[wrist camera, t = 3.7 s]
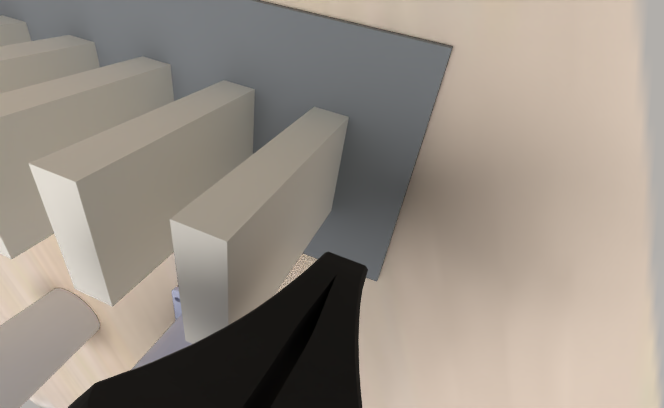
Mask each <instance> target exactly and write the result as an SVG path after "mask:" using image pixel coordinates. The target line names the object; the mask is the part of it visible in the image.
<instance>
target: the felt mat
mask: <svg viewBox="0 0 664 408" xmlns="http://www.w3.org/2000/svg"><path fill="white" fill-rule="evenodd" d="M2 15H3V16H7V17H10V18H13V19H17V20H20V21H24V22H26V25H27V28H28V31H29V35H30V38H31V41H36V40H42V39H48V38H54V37H60V36H65V35H71V36H75V37H78V38H82V39H85V40H89V41H92V42H95V47H96V52H97V57H98V61H99V66H100V67H104V66H108V65H111V64H115V63H119V62H123V61H127V60H131V59H134V58H138V57H142V56H143V57H147V58H150V59H153V60H157V61H160V62H164V63H167V64H170V65H171V75H172V85H173V95H174V101H176V100H178V99H181V98H183V97H185V96H188V95H190V94H192V93H195V92H197V91H199V90H202V89H204V88H206V87H209V86H211V85H214V84H216V83H218V82H221V81H223V80H225V81H228V82H232V83H235V84H239V85H242V86H245V87H249V88H252V89H255V98H254V131H253V154H254V153H255V152H257V151H258V150H259V149H260V148H262V147H263V146H264V145H266V144H267V143H268V142H269V141H271V140H272V139H273V138H275V137H276V136H277V135H278V134H280V133H281V132H282V131H284V130H285V129H286V128H287V127H289V126H290V125H291V124H293V123H294V122H295V121H296V120H298V119H299V118H300V117H302V116H303V115H304V114H305V113H307V112H308V111H309V110H311V109H312V108H313V107H317V108H320V109H324V110H327V111H331V112H334V113H337V114H341V115H344V116H348V117H349V119H348V124H347V130H346V135H345V140H344V146H343V151H342V156H341V162H340V167H339V172H338V178H337V183H336V188H335V194H334V199H333V204H332V210H331V212H330V213H329V215H328V216H327V218H326V219H325V221H324V222H323V224H322V225H321V227H320V228H319V229H318V231H317V232H316V234H315V235H314V237H313V238H312V240H311V241H310V243H309V244H308V246H307V247H306V249H305V250H304V252H303V253H304V254H306V255H309V256H311V257H314V258H317V259H319V258H320V257H321V256H322V255H323V254H324V253H326V252H331V253H334V254H336V255H339V256H342V257H344V258H347V259H349V260H352V261H355V262H357V263H360V264H363V265H365V266H366V267H367V269H368V272H367V275H366V278H369V279H371V280H374V281H377V280H378V277H379V274H380V271H381V268H382V265H383V262H384V259H385V256H386V253H387V249H388V246H389V243H390V240H391V237H392V234H393V231H394V228H395V225H396V221H397V218H398V215H399V212H400V209H401V206H402V203H403V200H404V197H405V194H406V190H407V187H408V184H409V181H410V178H411V175H412V172H413V169H414V166H415V163H416V159H417V156H418V153H419V150H420V147H421V144H422V141H423V138H424V135H425V131H426V128H427V125H428V122H429V119H430V116H431V113H432V110H433V107H434V104H435V100H436V97H437V94H438V91H439V88H440V85H441V82H442V79H443V76H444V72H445V69H446V66H447V63H448V60H449V57H450V54H451V51H452V48H453V46H449V45H445V44H441V43H437V42H432V41H428V40H424V39H420V38H415V37H411V36H407V35H403V34H399V33H394V32H390V31H386V30H382V29H378V28H373V27H369V26H365V25H361V24H357V23H352V22H348V21H344V20H340V19H335V18H331V17H327V16H323V15H319V14H314V13H310V12H306V11H302V10H298V9H293V8H289V7H285V6H281V5H277V4H272V3H268V2H264V1H260V0H0V16H2Z"/></svg>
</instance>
